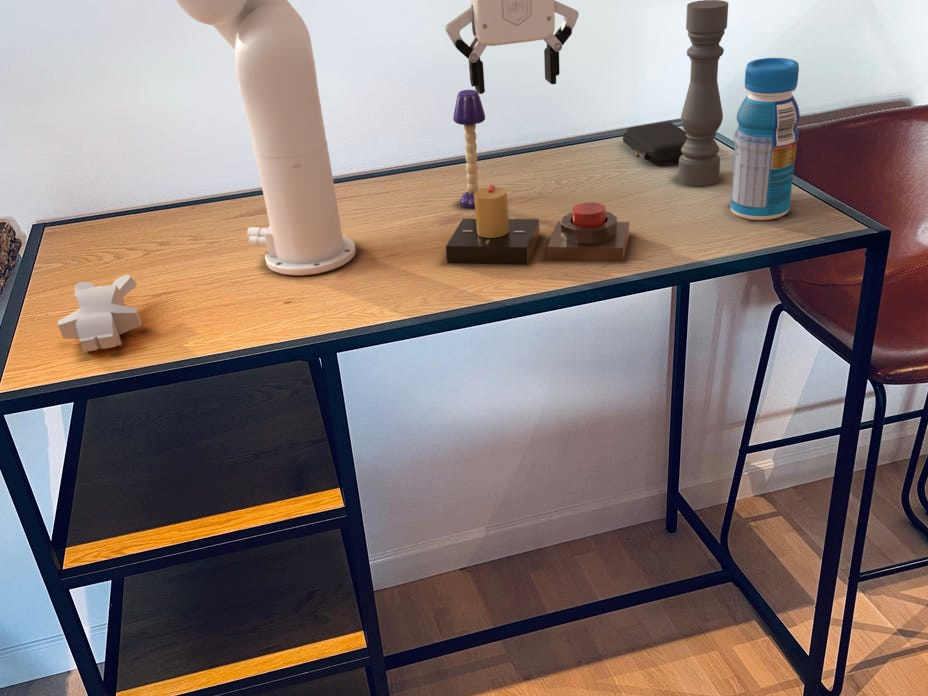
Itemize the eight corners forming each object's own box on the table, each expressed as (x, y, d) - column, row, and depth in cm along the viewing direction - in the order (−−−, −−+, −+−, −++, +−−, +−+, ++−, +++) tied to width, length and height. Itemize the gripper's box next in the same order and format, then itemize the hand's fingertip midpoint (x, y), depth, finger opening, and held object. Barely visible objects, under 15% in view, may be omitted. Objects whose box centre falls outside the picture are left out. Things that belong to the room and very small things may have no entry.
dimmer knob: (507, 237, 133) (504, 195, 130) (475, 238, 134) (471, 196, 130) (510, 225, 136) (508, 184, 133) (479, 226, 137) (476, 185, 134)
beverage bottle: (727, 221, 138) (738, 72, 127) (730, 199, 145) (740, 56, 133) (790, 222, 136) (807, 70, 125) (790, 200, 143) (805, 54, 131)
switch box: (547, 260, 132) (546, 232, 130) (557, 234, 139) (557, 207, 137) (622, 262, 130) (623, 233, 127) (629, 235, 137) (629, 207, 135)
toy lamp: (492, 198, 153) (484, 86, 143) (489, 209, 149) (481, 95, 139) (461, 199, 153) (452, 88, 144) (458, 210, 150) (448, 97, 140)
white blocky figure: (50, 334, 116) (61, 270, 127) (64, 369, 119) (74, 304, 130) (132, 320, 117) (136, 259, 128) (144, 356, 120) (147, 293, 131)
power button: (570, 229, 131) (569, 214, 130) (574, 216, 135) (574, 201, 133) (603, 229, 130) (603, 214, 129) (607, 216, 134) (607, 202, 132)
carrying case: (612, 144, 170) (645, 170, 158) (612, 126, 168) (645, 151, 156) (671, 135, 171) (707, 160, 159) (671, 117, 169) (708, 141, 158)
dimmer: (447, 263, 134) (445, 245, 132) (464, 234, 142) (462, 217, 140) (527, 265, 131) (526, 246, 130) (539, 235, 139) (539, 217, 138)
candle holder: (688, 189, 150) (697, 10, 135) (671, 176, 155) (677, 3, 140) (726, 182, 151) (738, 4, 136) (707, 170, 156) (717, -3, 141)
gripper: (444, -47, 116) (456, 102, 126) (585, -63, 119) (586, 85, 128) (433, -55, 122) (446, 88, 132) (567, -70, 125) (570, 72, 135)
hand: (515, 86), depth 130 cm, fingers open, 9 cm apart
